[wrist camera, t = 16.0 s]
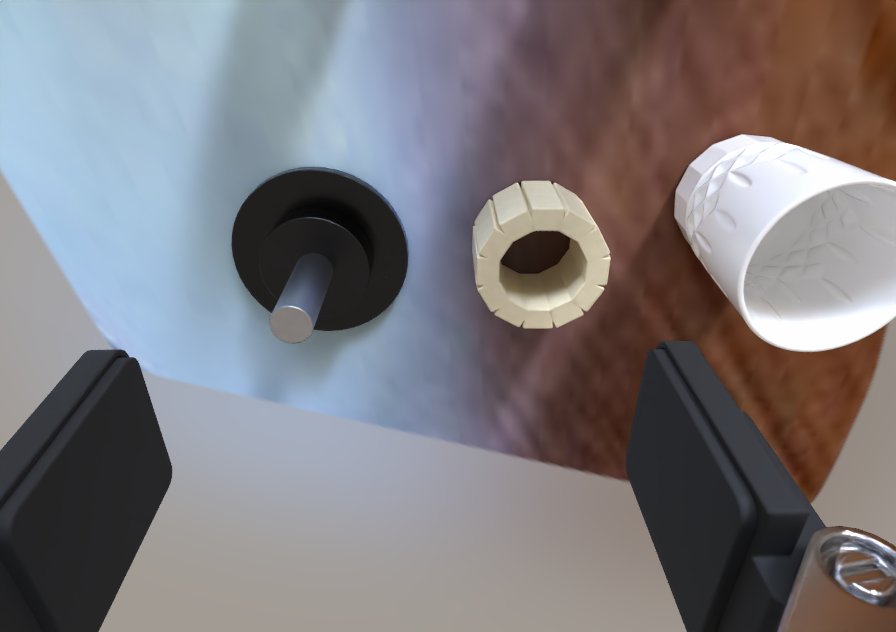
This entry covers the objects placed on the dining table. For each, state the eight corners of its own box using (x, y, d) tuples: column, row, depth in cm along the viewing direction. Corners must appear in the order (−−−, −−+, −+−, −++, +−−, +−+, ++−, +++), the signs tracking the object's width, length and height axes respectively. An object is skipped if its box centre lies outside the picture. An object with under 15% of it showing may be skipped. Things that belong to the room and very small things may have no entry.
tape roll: (473, 180, 33) (478, 208, 29) (597, 180, 33) (618, 208, 29) (471, 290, 36) (474, 329, 33) (583, 290, 37) (600, 329, 33)
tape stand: (219, 166, 33) (155, 222, 25) (405, 166, 33) (395, 222, 25) (249, 326, 38) (202, 411, 30) (410, 326, 38) (403, 411, 30)
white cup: (639, 174, 33) (710, 246, 24) (781, 91, 31) (914, 137, 22) (693, 283, 36) (773, 380, 28) (825, 214, 34) (955, 296, 26)
